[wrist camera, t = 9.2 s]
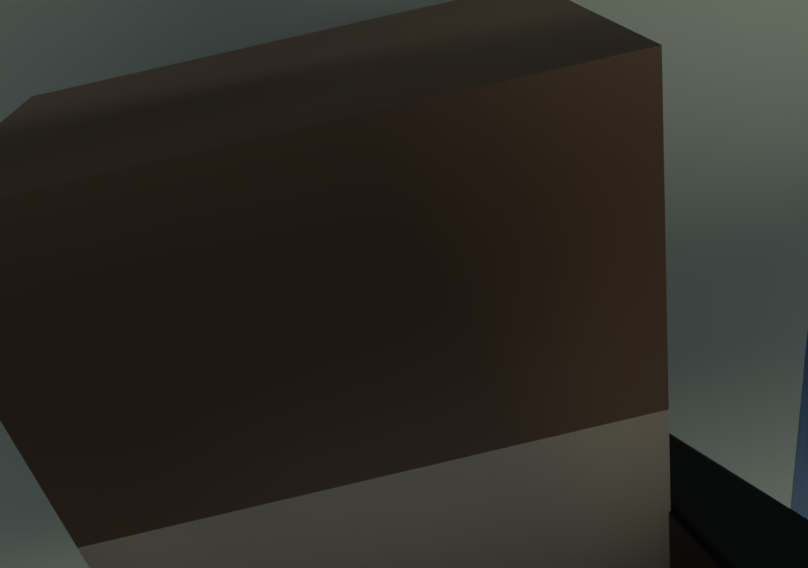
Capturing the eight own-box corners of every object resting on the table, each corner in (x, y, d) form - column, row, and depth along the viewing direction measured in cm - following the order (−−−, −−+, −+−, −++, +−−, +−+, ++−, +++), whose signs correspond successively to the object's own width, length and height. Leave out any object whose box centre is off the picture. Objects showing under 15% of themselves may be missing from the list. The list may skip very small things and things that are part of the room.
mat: (818, -261, 8) (865, -273, 8) (761, 534, 15) (784, 567, 14) (-335, -3, 8) (-394, 9, 7) (118, 687, 15) (109, 728, 14)
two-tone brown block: (596, 620, 12) (676, 823, 10) (299, 690, 12) (299, 914, 10) (531, -17, 7) (662, 45, 5) (31, 96, 7) (-120, 222, 5)
